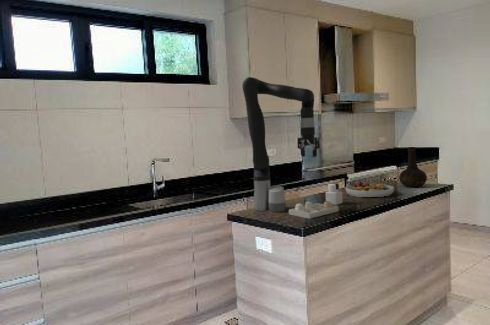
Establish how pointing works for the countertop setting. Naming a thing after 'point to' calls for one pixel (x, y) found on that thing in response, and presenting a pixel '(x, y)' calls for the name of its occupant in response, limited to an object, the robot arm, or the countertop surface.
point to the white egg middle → (308, 205)
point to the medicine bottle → (334, 194)
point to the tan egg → (327, 204)
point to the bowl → (369, 190)
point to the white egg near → (299, 207)
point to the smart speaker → (277, 199)
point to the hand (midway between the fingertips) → (308, 156)
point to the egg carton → (314, 211)
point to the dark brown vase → (412, 172)
